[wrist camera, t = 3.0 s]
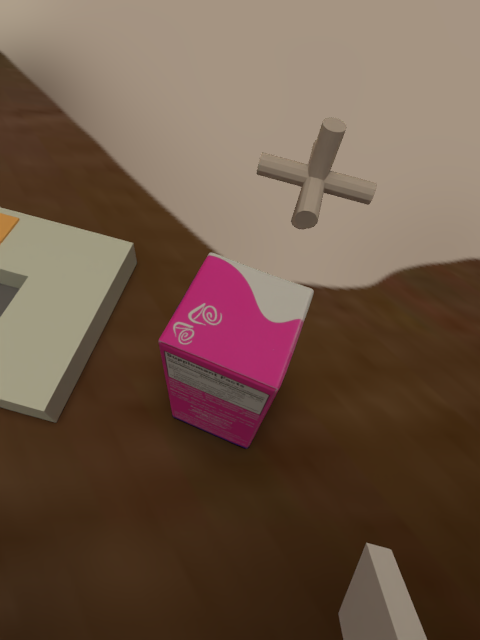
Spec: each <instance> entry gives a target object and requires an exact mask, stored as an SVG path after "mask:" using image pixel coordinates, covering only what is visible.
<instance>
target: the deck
mask: <svg viewBox="0 0 480 640" xmlns="http://www.w3.org/2000/svg"><path fill="white" fill-rule="evenodd" d="M136 264H137V261H136V255H135V249H134V244H133V243H131V242H127V241H124V240H120V239H116V238H113V237H109V236H105V235H101V234H98V233H94V232H90V231H86V230H83V229H79V228H75V227H72V226H68V225H64V224H60V223H57V222H53V221H49V220H45V219H42V218H38V217H34V216H31V215H27V214H23V213H19V212H16V211H12V210H8V209H4V208H1V207H0V407H1V408H5V409H8V410H12V411H16V412H19V413H23V414H26V415H30V416H33V417H37V418H41V419H44V420H48V421H51V422H55V423H56V422H57V420H58V418H59V416H60V414H61V412H62V410H63V408H64V407H65V405H66V403H67V401H68V399H69V397H70V395H71V393H72V391H73V389H74V387H75V385H76V383H77V381H78V379H79V377H80V375H81V373H82V371H83V369H84V367H85V365H86V363H87V361H88V359H89V357H90V355H91V353H92V351H93V349H94V347H95V345H96V343H97V341H98V339H99V337H100V335H101V333H102V331H103V329H104V327H105V325H106V324H107V322H108V320H109V318H110V316H111V314H112V312H113V310H114V308H115V306H116V304H117V302H118V300H119V298H120V296H121V294H122V292H123V290H124V288H125V286H126V284H127V282H128V280H129V278H130V276H131V274H132V272H133V270H134V268H135V266H136Z"/></svg>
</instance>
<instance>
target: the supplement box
mask: <svg viewBox="0 0 480 640" xmlns="http://www.w3.org/2000/svg"><path fill="white" fill-rule="evenodd" d="M313 293H314V291H313V289H311V288H308V287H305V286H302V285H299V284H296V283H293V282H290V281H288V280H284V279H282V278H279V277H276V276H273V275H270V274H268V273H265V272H262V271H259V270H257V269H254V268H251V267H249V266H246V265H244V264H241V263H238V262H236V261H233V260H231V259H228V258H225V257H223V256H220V255H217V254H215V253H209V254H208V256H207V258H206V260H205V261H204V263H203V265H202V266H201V268H200V270H199V271H198V273H197V275H196V277H195V278H194V280H193V282H192V283H191V285H190V287H189V289H188V290H187V292H186V294H185V296H184V297H183V299H182V301H181V303H180V304H179V306H178V308H177V309H176V311H175V313H174V315H173V316H172V318H171V320H170V321H169V323H168V325H167V327H166V329H165V330H164V332H163V333H162V335H161V337H160V338H159V346H160V351H161V357H162V362H163V367H164V373H165V378H166V383H167V388H168V393H169V398H170V404H171V409H172V415H173V417H174V418H176V419H178V420H181V421H183V422H185V423H188V424H190V425H192V426H195V427H197V428H199V429H201V430H203V431H206V432H208V433H210V434H213V435H215V436H217V437H219V438H222V439H224V440H226V441H229V442H231V443H233V444H236V445H238V446H241V447H243V448H246V449H248V448H249V446H250V444H251V442H252V440H253V438H254V436H255V435H256V433H257V430H258V428H259V426H260V424H261V422H262V421H263V419H264V417H265V415H266V413H267V411H268V409H269V408H270V406H271V404H272V402H273V400H274V398H275V396H276V394H277V392H278V390H279V388H280V386H281V384H282V381H283V379H284V376H285V374H286V371H287V368H288V366H289V363H290V360H291V357H292V354H293V352H294V349H295V346H296V343H297V340H298V337H299V334H300V332H301V329H302V326H303V323H304V320H305V317H306V314H307V311H308V308H309V305H310V302H311V299H312V296H313Z"/></svg>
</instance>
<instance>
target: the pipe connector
mask: <svg viewBox="0 0 480 640" xmlns="http://www.w3.org/2000/svg"><path fill="white" fill-rule="evenodd" d="M345 130H346V125H345V123H344V122H343V121H341V120H339V119H336V118H326V119H324V120H323V123H322V126H321V129H320V132H319V135H318V139H317V140H316V141H315V143H314V144H313V148H312V152H311V156H310V160H309V164H308V165H307V164H304V163H300V162H296V161H292V160H289V159H285V158H281V157H277V156H274V155H270V154H267V153H262V154H261V157H260V161H259V164H258V169H257V174H258V175H261V176H265V177H268V178H272V179H276V180H280V181H283V182H287V183H290V184H295V185H298V186H301V187H302V188H301V191H300V195H299V198H298V201H297V204H296V207H295V210H294V213H293V217H292V220H291V222H292V225H294V227H296V228H298V229H306V228H311V227H314V226H315V225H316V224H317V221H318V217H319V212H320V207H321V202H322V197H323V192H324V193H327V194H331V195H335V196H338V197H342V198H346V199H350V200H353V201H357V202H360V203H364V204H370V202H371V201H372V199H373V196H374V194H375V191H376V186H377V184H376V183H374V182H370V181H366V180H363V179H359V178H356V177H352V176H348V175H344V174H341V173H337V172H333V171H330V169H331V167H332V164H333V162H334V159H335V157H336V154H337V151H338V149H339V146H340V143H341V141H342V138H343V135H344V133H345Z"/></svg>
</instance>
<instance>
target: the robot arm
mask: <svg viewBox="0 0 480 640" xmlns="http://www.w3.org/2000/svg"><path fill="white" fill-rule="evenodd" d="M338 614H339V619H340V624H341V630H342V635H343V640H427V638H426V636H425V633H424V631H423V628H422V626H421V623H420V621H419V618H418V616H417V613H416V611H415V608H414V606H413V603H412V601H411V598H410V596H409V593H408V591H407V588H406V586H405V583H404V581H403V578H402V576H401V573H400V571H399V568H398V566H397V563H396V561H395V558H394V556H393V553H392V551H391V549H388V548H384V547H380V546H376V545H373V544H369V543H366V545H365V547H364V550H363V552H362V555H361V557H360V560H359V563H358V565H357V568H356V570H355V573H354V575H353V578H352V580H351V583H350V585H349V588H348V590H347V593H346V595H345V598H344V600H343V603H342V606H341V608H340V611H339V613H338Z"/></svg>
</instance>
